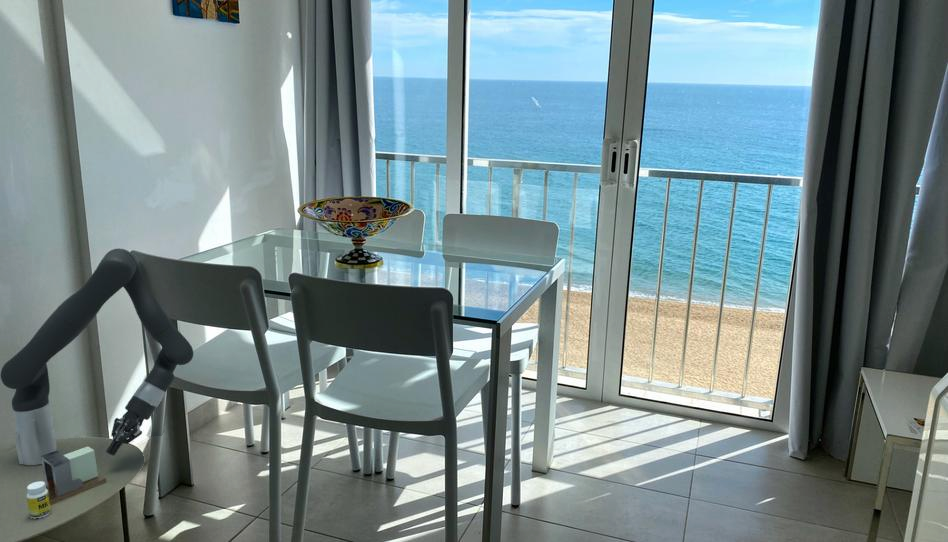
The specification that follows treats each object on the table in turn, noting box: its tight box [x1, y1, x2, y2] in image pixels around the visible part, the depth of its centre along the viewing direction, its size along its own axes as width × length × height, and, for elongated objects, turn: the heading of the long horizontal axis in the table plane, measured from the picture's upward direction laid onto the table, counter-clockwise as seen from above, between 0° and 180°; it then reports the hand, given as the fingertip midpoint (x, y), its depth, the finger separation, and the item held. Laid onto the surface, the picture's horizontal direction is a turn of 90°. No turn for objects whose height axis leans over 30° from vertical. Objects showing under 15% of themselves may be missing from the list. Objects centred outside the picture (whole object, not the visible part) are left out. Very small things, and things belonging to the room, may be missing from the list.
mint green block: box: [63, 446, 99, 482], centre depth 196 cm, size 8×4×8 cm, turn 141°
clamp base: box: [41, 449, 107, 506], centre depth 195 cm, size 15×9×10 cm, turn 141°
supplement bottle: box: [26, 481, 52, 520], centre depth 182 cm, size 5×5×8 cm
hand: (109, 453), depth 203 cm, fingers closed
